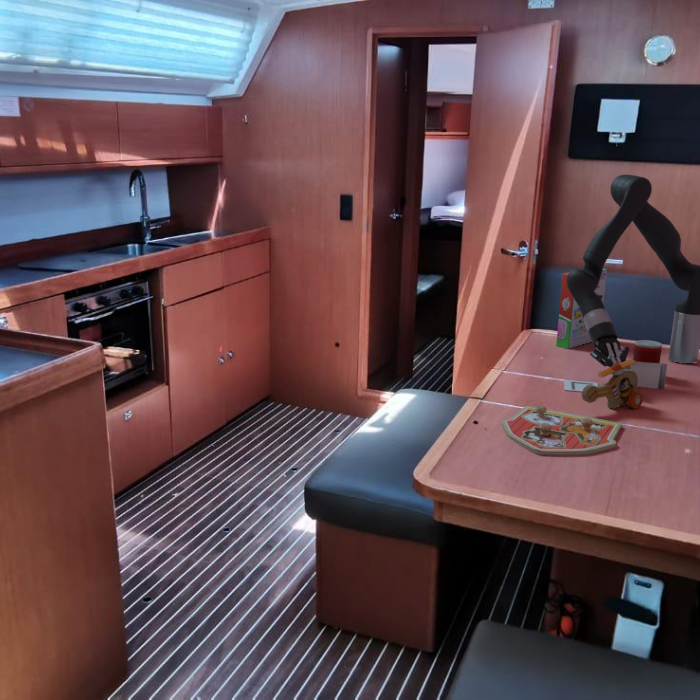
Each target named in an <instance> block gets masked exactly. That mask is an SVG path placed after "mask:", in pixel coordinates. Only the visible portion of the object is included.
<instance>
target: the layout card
mask: <svg viewBox="0 0 700 700" xmlns="http://www.w3.org/2000/svg"><path fill="white" fill-rule="evenodd" d="M563 382H564V386H563V387H564V391H565V392H567V391H568V392H577V393H582V391H583V389H584V388H585V386H587V385H593V386H599V384H598V382H593V381H583V380H570V379H564V380H563Z"/></svg>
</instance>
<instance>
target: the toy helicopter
mask: <svg viewBox="0 0 700 700" xmlns="http://www.w3.org/2000/svg"><path fill="white" fill-rule="evenodd" d="M635 363H636V362H635V361H634V360H633V359H628V360H627V359H626V361H624V362H622V363H619V364H618V363H615V364H613V365H612V367H608V368H605V369H603V370H600V371H598V372H597V376H598V377H599V378H604V377H607V376H609V375H612V376H611V377H610V378H609V380H608V381H607V382H606V383H604V384H601V385H599V384H598V386H593V385H587V386H585V388H584V389H583V391H582V392H581V397H582V399H583V401H585V402H587V403H589V404H593V403H594V402H596V401H597V400H598V399H600V398H601V399H602V398H605V397H606V400H607V402H606V403H607V407H608V408H609V409H613V410H615V409H617V407H618V406H624V405H626V404H627V406H628V407H629V408H631V409H633V410H637V409H639V408H640V407H641V406H642V404H643V401H644V396H643V394H642V393H641V392H640V391H637V388H638V387H637V382H638V379H637V375H636V373H635V372H633V371H631V370H624V368H625V367H627V366H630V365H633V364H635Z"/></svg>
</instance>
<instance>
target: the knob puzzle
mask: <svg viewBox="0 0 700 700" xmlns="http://www.w3.org/2000/svg"><path fill="white" fill-rule="evenodd" d="M622 424H623V423H622V422H618V421H613V420H608V419H607V420H606V419H601V418H598V417H591V416H585V415H581V414H574V413H568V412H562V411H557V410H553V409H547V407H546V406H545V405H543V404H541V405H537V406H531V405H526V406H524V407H523V408H521V409H520V410H518V412H517V413H515V414H514V415H512V416H511V417H509V418H504V419H502V420H501V427H502V426H503V427H502V429H504V430H503V432H504V431H505V432H504V433H506V434H505V435H506V437H507V436H508V437H509V438H510V439H509V438H508V437H507V438H508V439H509V440H511V441H512V440H513V441H512V442H514V443H515V442H516V443H515V444H517V445H519V446H521V447H522V448H524V449H526V450H527V451H529V452H532V453H533V454H536V455H539V456H540V455H541V456H558V457H559V456H560V457H561V456H566V457H568V456H586V455H587V456H589V455H594V454H597V453H601V452H605V451H609V450H613V449H615V448H616V447H617V441H616V438H617V437H618V435H619V432H620V431H621V430H622V426H623V425H622ZM620 429H621V430H620Z"/></svg>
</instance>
